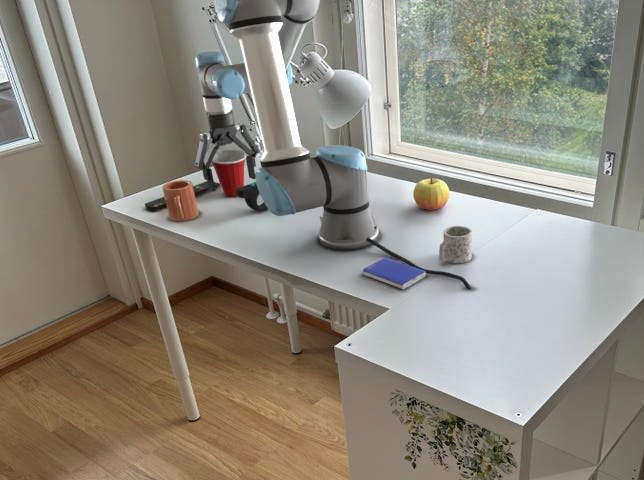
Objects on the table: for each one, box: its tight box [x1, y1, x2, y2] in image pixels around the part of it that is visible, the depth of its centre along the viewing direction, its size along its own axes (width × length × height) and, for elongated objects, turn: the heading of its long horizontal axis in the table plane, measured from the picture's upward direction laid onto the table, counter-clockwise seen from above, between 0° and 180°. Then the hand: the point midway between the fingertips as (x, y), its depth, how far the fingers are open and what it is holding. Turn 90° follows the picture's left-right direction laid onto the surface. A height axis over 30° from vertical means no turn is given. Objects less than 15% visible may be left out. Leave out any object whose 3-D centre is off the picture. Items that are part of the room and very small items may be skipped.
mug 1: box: [161, 179, 199, 222], centre depth 198 cm, size 11×8×9 cm
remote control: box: [144, 180, 221, 212], centre depth 213 cm, size 5×24×1 cm, turn 142°
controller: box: [235, 181, 269, 212], centre depth 200 cm, size 4×12×10 cm, turn 133°
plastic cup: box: [211, 148, 247, 198], centre depth 212 cm, size 11×11×12 cm
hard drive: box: [362, 257, 427, 290], centre depth 164 cm, size 2×8×12 cm
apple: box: [413, 177, 450, 211], centre depth 197 cm, size 10×10×8 cm
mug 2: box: [438, 225, 473, 264], centre depth 169 cm, size 10×7×7 cm
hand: (232, 184), depth 213 cm, fingers open, 13 cm apart
